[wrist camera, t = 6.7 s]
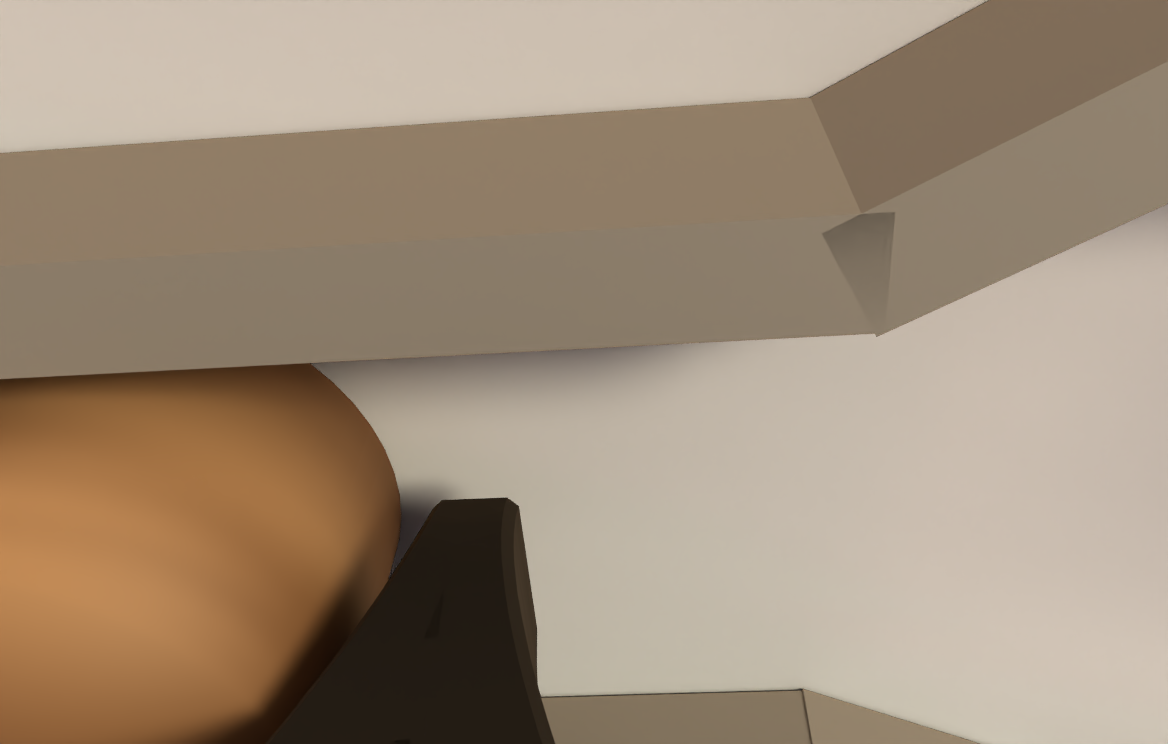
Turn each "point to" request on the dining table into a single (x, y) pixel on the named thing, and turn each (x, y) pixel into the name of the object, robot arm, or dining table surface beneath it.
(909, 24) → the dining table surface
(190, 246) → the keyhole track
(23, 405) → the tan rounded capsule
